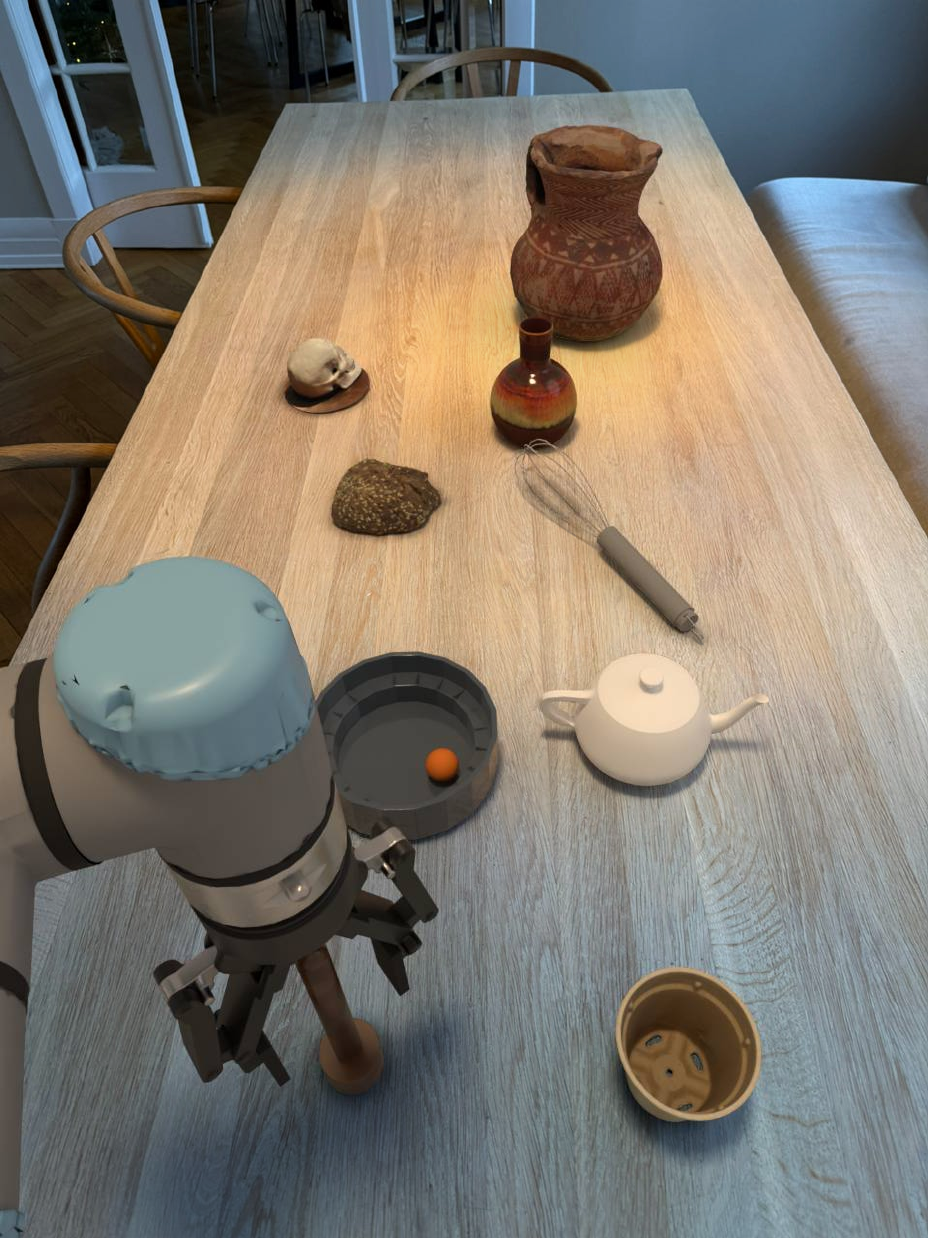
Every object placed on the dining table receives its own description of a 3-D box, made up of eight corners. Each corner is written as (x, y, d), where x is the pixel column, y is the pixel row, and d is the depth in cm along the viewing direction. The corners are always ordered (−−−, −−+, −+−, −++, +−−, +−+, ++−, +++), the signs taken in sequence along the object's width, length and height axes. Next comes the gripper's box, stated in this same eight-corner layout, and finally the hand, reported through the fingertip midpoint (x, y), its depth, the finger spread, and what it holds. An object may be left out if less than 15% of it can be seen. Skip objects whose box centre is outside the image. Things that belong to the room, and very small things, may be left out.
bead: (429, 787, 81) (416, 770, 78) (438, 758, 82) (426, 741, 80) (458, 788, 79) (446, 771, 77) (467, 760, 81) (455, 742, 79)
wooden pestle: (350, 1109, 63) (301, 1003, 48) (312, 1063, 65) (253, 948, 50) (396, 1062, 65) (362, 946, 50) (357, 1019, 67) (313, 895, 52)
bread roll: (319, 528, 105) (313, 496, 101) (355, 465, 113) (351, 432, 109) (422, 546, 102) (419, 514, 99) (451, 479, 110) (450, 447, 106)
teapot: (743, 695, 87) (766, 627, 79) (759, 806, 79) (787, 742, 71) (539, 684, 88) (543, 616, 81) (535, 792, 80) (538, 728, 73)
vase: (587, 419, 118) (596, 312, 106) (554, 466, 111) (560, 358, 100) (512, 399, 121) (513, 293, 110) (476, 444, 115) (473, 336, 103)
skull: (340, 345, 130) (358, 317, 120) (369, 411, 130) (389, 388, 121) (265, 369, 125) (277, 342, 116) (295, 437, 126) (310, 415, 116)
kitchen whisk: (678, 657, 90) (688, 615, 85) (503, 480, 110) (503, 439, 105) (724, 633, 92) (736, 591, 87) (544, 464, 112) (546, 422, 107)
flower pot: (761, 1076, 64) (791, 1039, 58) (683, 1182, 60) (705, 1156, 53) (657, 982, 69) (673, 939, 62) (577, 1075, 64) (586, 1039, 58)
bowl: (380, 881, 75) (373, 848, 70) (283, 748, 84) (271, 711, 80) (534, 775, 81) (536, 738, 77) (428, 662, 91) (424, 624, 86)
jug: (671, 300, 138) (697, 127, 119) (631, 370, 125) (654, 189, 107) (538, 276, 144) (544, 108, 126) (488, 340, 132) (486, 164, 113)
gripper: (65, 1081, 33) (212, 1191, 50) (502, 783, 41) (501, 965, 58) (3, 926, 37) (158, 1076, 54) (411, 682, 45) (435, 880, 62)
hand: (335, 1018), depth 56 cm, fingers open, 8 cm apart
